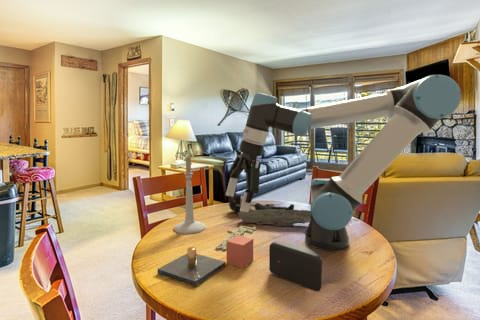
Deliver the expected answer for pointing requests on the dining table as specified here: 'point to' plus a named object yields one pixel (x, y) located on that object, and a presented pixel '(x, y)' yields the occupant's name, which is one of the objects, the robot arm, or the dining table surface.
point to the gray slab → (191, 268)
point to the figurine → (253, 205)
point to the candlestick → (189, 208)
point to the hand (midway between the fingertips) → (236, 203)
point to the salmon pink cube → (239, 251)
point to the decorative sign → (238, 231)
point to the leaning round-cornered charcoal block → (296, 264)
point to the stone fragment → (276, 216)
